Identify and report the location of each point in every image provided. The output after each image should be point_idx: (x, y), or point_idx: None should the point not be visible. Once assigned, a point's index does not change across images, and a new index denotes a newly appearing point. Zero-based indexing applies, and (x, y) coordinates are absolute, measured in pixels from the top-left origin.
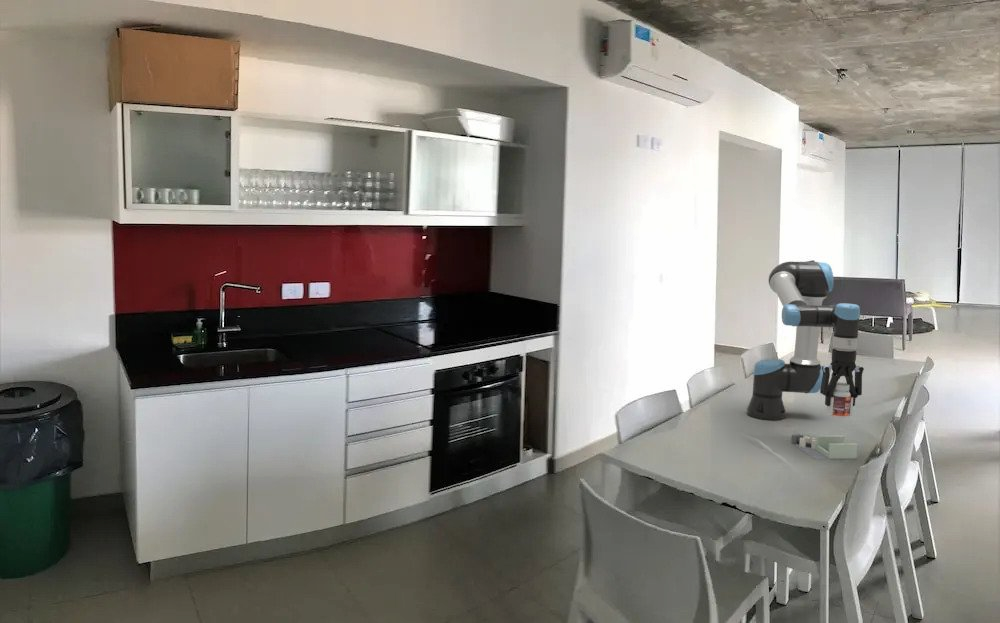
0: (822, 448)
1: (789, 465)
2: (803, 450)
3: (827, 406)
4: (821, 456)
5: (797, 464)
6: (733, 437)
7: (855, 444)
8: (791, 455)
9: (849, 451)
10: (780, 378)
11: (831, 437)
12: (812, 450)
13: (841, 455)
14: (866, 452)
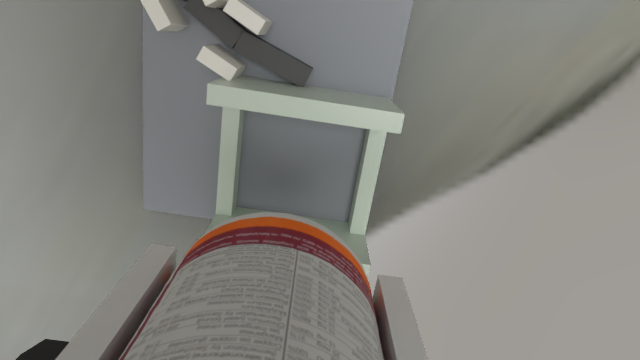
0: (230, 138)
1: (9, 219)
2: (146, 80)
3: (103, 313)
4: (196, 186)
5: (53, 214)
6: None
7: None
8: (75, 91)
9: None
10: None
11: (306, 118)
12: (201, 88)
13: None
14: (527, 115)
